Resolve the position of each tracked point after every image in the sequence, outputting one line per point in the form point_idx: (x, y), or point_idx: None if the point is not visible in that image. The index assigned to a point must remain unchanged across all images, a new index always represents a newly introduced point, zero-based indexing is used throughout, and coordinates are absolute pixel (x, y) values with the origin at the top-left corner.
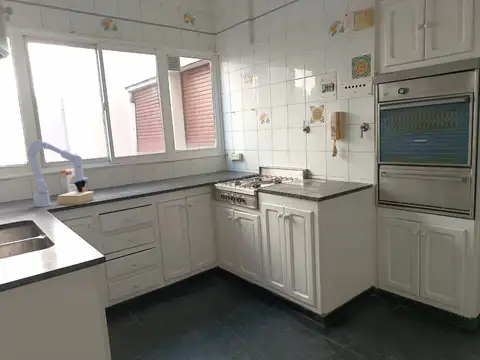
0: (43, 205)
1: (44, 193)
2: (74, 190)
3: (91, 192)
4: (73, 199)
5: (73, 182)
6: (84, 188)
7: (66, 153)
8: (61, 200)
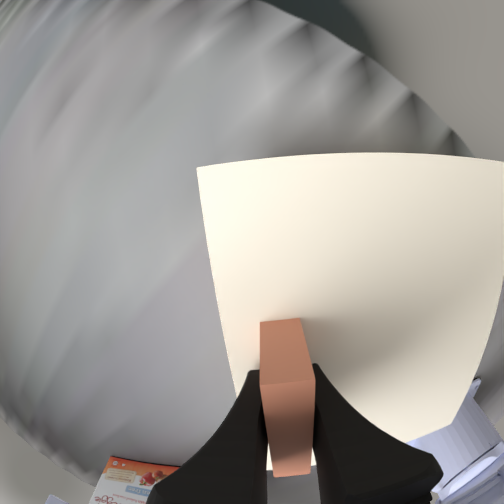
0: (470, 395)
1: (499, 441)
2: (150, 490)
3: (271, 158)
4: None
5: None
6: (283, 362)
7: None
8: None
